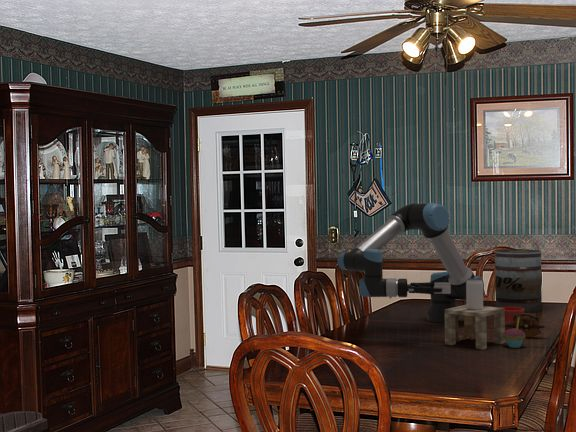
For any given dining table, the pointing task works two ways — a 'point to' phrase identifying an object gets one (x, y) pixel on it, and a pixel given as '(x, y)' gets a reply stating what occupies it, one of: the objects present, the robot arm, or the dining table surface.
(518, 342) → the cupcake
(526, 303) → the barrel
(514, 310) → the flower pot
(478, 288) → the can
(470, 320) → the gate leg
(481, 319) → the stool
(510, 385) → the dining table surface
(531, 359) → the dining table surface
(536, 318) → the wooden carving
